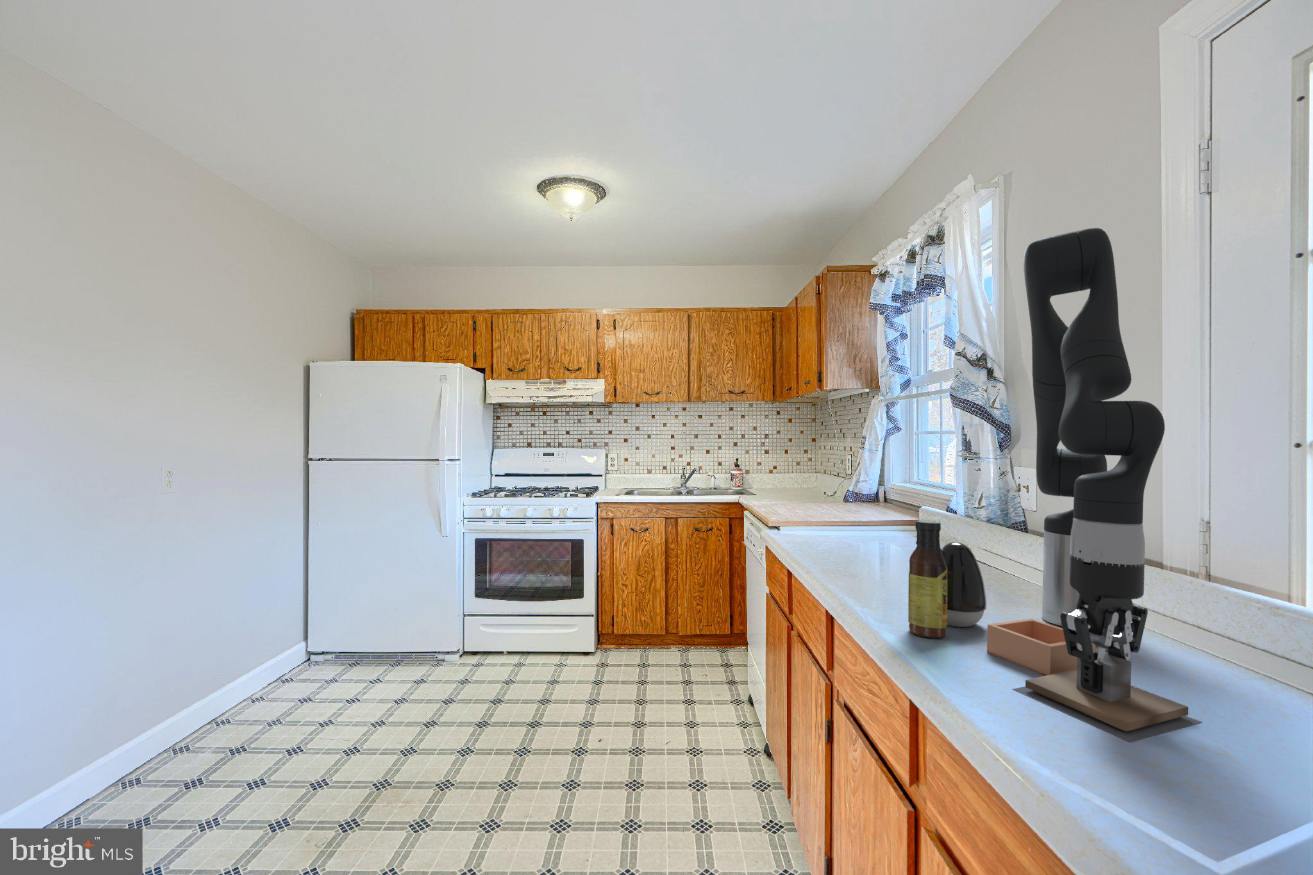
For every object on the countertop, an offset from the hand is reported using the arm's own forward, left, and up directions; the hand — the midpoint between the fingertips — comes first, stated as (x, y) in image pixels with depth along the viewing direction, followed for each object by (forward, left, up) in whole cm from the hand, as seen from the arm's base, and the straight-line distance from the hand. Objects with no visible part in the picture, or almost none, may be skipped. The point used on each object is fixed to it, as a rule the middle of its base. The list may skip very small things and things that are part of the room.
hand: (1103, 687), depth 73 cm
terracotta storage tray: (-7, -13, -3) cm, 15 cm away
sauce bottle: (-1, -29, -3) cm, 29 cm away
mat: (0, 0, -3) cm, 3 cm away
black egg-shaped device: (-11, -32, -3) cm, 34 cm away
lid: (0, 0, -2) cm, 2 cm away
